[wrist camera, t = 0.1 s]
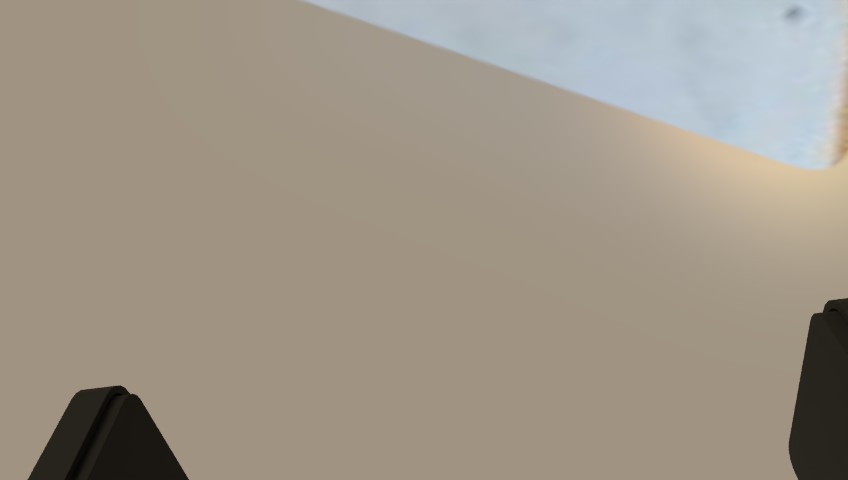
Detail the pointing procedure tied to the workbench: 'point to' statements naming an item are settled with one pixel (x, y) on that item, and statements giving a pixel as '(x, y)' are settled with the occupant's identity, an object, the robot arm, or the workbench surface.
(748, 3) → the workbench surface
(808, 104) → the workbench surface
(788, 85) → the workbench surface
